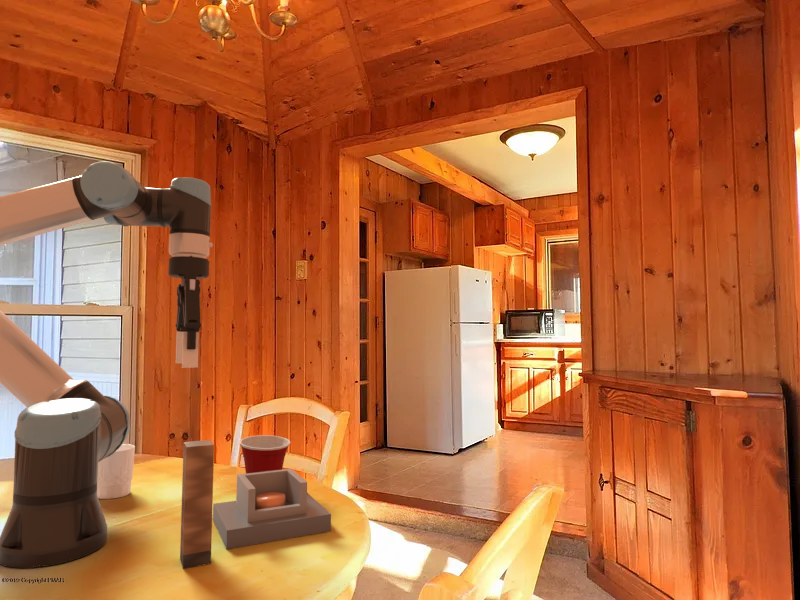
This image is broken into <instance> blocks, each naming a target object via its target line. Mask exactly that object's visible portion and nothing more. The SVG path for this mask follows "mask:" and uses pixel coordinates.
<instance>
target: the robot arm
mask: <svg viewBox="0 0 800 600" xmlns="http://www.w3.org/2000/svg"><path fill="white" fill-rule="evenodd" d="M170 183H171V184H170V185H169V188H155V187H145V186H144V185H143V184H142V183H140V182H139V181H138V180H137V179H136V178H135V177H134V175H133V174H132V173H131V172H130V171H129V170H127V169H126V168H124V167H122V166H121V165H119V164H116V163H114V162H112V161H105V160H104V161H103V160H102V161H97V162H94V163H92V164H90V165H89V166H87V168H85V169H84V170H83V172H82V174H81V175H79V176H78V175H77V176H75V177H71V178H66V179H63V180H60V181H59V180H58V181H55V182H52V183H47V184H43V185H40V186H36V187H32V188H27V189H25V190H19V191H16V192H12V193H8V194H6V195H4V194H3V195H1V196H0V246H3V245H8V244H11V243H15V242H17V241H21V240H25V239H26V240H27V239H30V238H32V237H38V236H41V235H43V234H48V233H51V232H54V231H58V230H61V229H65V228H69V227H71V226H75V225H79V224H83V223H86V222H90V221H95V220H97V219H98V220H99V219H102V218H103V220H104V221H105V222H106V223H107V224H108V225H114V226H116V225H117V226H123V227H130V226H131V227H132V226H133V227H134V226H135V227H161V228H169V235H168V236H169V237H168V254H169V255H170V256H171V257H169V258H168V267H167V268H168V271H167V273H168V276H170V278H174V279H175V278H176V279H177V278H178V279H181V280H180V281H181V282H180V283H179V284H178V286H177V287H176V296H177V298H176V304H177V310H176V311H177V312H176V324H175V329H176V334H175V335H176V337H175V340H176V342H175V345H176V346H175V364H181V368H183V369H189V368H190V369H191V368H193V369H195V368H199V347H200V346H199V344H200V342H199V341H200V332H199V331H200V329H201V327H202V323H201V305H200V303H201V301H200V298H201V297H200V293H201V287H200V284H201V281H200V279H203V280H204V279H207V278H209V277H210V260H209V259H208V258H209V256H210V248H213V245H214V244H213V242H210V240H211V239H210V238H211V219H212V208H213V207H212V200H211V199H212V195H211V190H212V189H211V186H210V184H209V183H208V182H206V181H205V180H203V179H199V178H195V177H187V176H185V177H184V176H183V177H175V178H173V179H172V180H171V182H170ZM0 384H1V385H2V386H3V387H4V388H6V390H8V392H10V393H11V394H12V395H13V396H14V397H15V398H16V399H17V400H18V401H19V402H21V403H22V404H23V405H24V406H25V408H24V409H23V410H21V411H20V413H19V414H18V417H17V420H16V421H17V422H16V428H15V430H14V463H13V464H14V465H13V466H14V467H13V492H12V493H13V495H12V506H11V509H10V512H9V514H8V517H7V519H6V521H5V524H4V526H3V529H2V530H1V531H2V532H1V534H0V565H2V566H4V567H7V568H8V567H9V568H13V569H14V568H18V569H27V568H28V569H29V568H31V569H32V568H41V567H48V566H53V565H58V564H62V563H67V562H70V561H73V560H76V559H81V558H83V557H85V556H88V555H90V554H93V553H94V552H96V551H98V550H99V549H101V548H102V547H103V546H104V545H105V544H106V543H107V541H108V524H107V521H106V518H105V515H104V511H103V509H102V505H101V503H100V499H99V498H98V497H97V479H98V462H100V461H101V460H103V459H105V458H106V457H109V456H111V455H112V454H113V453H114V452H115V451H116V450H117V449H119V448H120V446H121V445H122V444H125V441H126V439H127V438H128V436H129V433H130V430H131V429H130V428H131V416H130V414H129V410H128V409H127V407H126V406H125V405H124V403H123V402H121V401H120V400H119V399H117V398H114V397H112V396H111V395H110V396H109V395H103V393H102V392H100V390H98V389H97V388H96V387H95V386H94V385H93V384H92V383H91V382H90V381H88V380H86V379H85V380H83V379H74V378H73V377H72V376H71V375H69V373H67V371H66V370H64V369H63V368H62V367H61V366H60V365H59V364H58V363H57V362H56V361H55V360H54V359H53V358H52V357H51V356H50V355H49V354H47V352H45V351H44V350H43V349H42V348H41V347H40V346H39V345H38V344H37V343H36V342H35V341H34V340H32V339H31V337H30V336H29V335H28V334H27V333H25V332H24V330H22V329H21V328H20V327H19V326H18V325H17V324H16V323H15V322H14V321H13V320H12V319H10V318H9V316H7V314H5V313H4V312H3V311H2V309H0Z"/></svg>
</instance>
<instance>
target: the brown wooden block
mask: <svg viewBox="0 0 800 600" xmlns="http://www.w3.org/2000/svg"><path fill="white" fill-rule="evenodd" d="M182 446H183V447H182V448H183V450H182V453H183V454H182V480H181V481H182V484H181V486H182V487H181V513H180V514H181V516H180V517H181V518H180V519H181V521H180V547H179V549H180V550H179V553H180V554H179V560H180V564H181V566H182V567H181V568H182V569H183V570H184V569H189V568H194V567H199V566H198V565H201V566H204V565H203V564H206V565H209V564H208V563H211V564H212V540H213V539H212V536H213V535H212V534H213V532H212V531H213V504H214V503H213V499H214V497H213V494H214V466H215V465H214V462H215V457H214V456H215V444H214V443H213V441H211V439H205V440H194V441H193V440H191V441H184V442H183V445H182Z"/></svg>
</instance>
